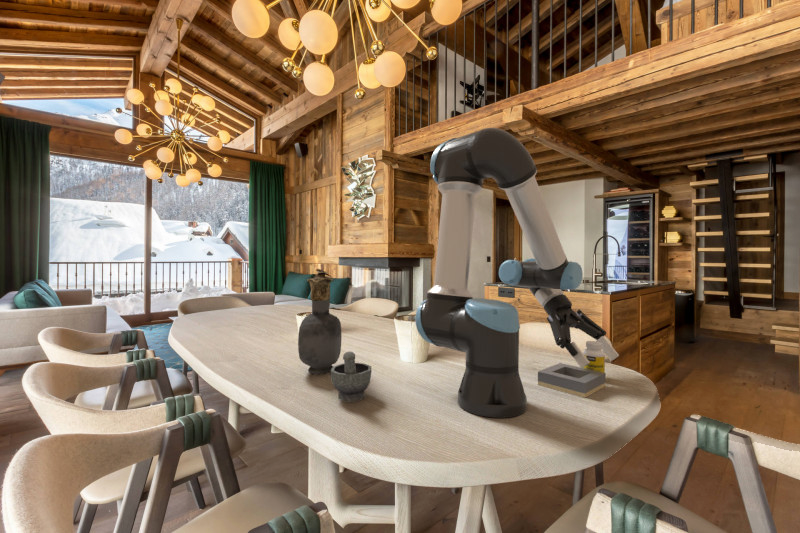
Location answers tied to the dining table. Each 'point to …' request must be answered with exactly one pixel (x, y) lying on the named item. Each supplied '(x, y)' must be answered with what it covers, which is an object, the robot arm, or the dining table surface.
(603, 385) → the socket block
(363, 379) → the mortar and pestle
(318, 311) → the dark decorative bottle
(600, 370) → the supplement bottle
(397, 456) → the dining table surface
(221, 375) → the dining table surface
